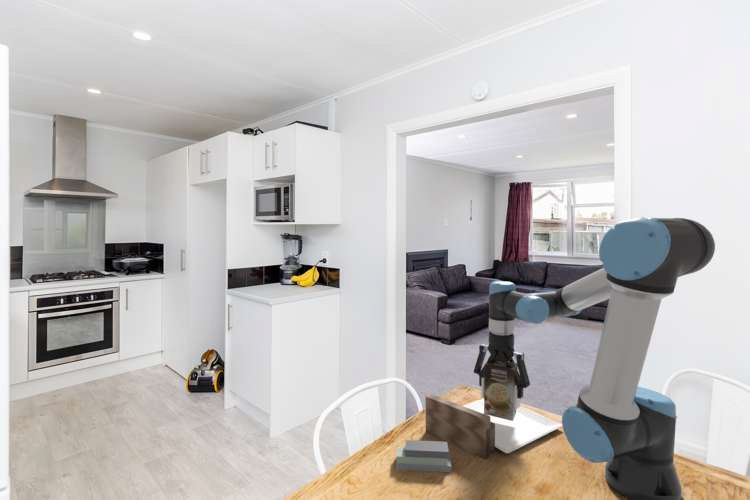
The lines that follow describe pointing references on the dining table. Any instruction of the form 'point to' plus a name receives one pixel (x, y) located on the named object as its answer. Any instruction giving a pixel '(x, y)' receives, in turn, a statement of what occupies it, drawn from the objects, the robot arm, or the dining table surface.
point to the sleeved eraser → (423, 456)
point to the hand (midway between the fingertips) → (500, 401)
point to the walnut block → (460, 426)
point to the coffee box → (499, 390)
